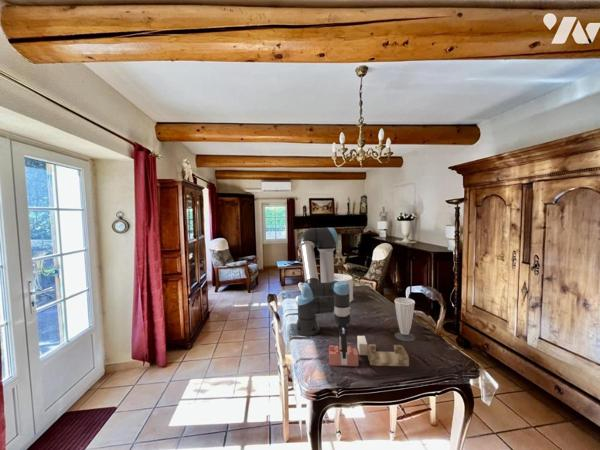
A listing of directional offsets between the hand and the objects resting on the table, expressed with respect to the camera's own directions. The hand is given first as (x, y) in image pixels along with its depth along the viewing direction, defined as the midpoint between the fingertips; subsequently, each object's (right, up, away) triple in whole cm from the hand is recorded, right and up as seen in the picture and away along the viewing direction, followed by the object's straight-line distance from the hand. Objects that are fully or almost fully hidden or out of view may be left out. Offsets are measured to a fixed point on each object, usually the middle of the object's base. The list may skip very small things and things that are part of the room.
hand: (343, 356), depth 129 cm
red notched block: (0, -3, +1) cm, 3 cm away
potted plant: (-18, 0, +72) cm, 74 cm away
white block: (+12, -2, +11) cm, 17 cm away
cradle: (+22, -2, +1) cm, 22 cm away
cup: (+41, -1, +25) cm, 48 cm away
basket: (+12, +2, +95) cm, 96 cm away
